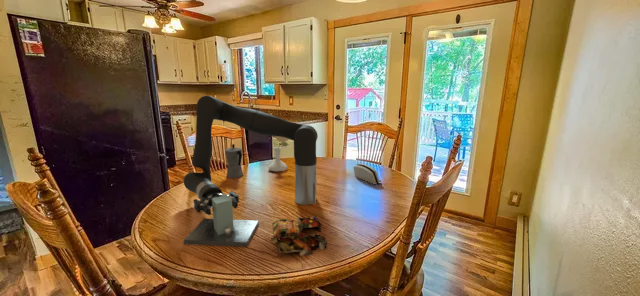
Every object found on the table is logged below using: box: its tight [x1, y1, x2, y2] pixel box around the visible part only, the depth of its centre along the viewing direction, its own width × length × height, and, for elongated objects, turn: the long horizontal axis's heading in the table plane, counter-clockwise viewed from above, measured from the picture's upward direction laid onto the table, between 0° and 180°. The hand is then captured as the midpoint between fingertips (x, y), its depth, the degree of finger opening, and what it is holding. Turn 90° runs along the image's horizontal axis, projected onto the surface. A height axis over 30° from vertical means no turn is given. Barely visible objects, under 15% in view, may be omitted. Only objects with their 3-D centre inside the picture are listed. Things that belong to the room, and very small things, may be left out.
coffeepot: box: [224, 143, 244, 179], centre depth 146 cm, size 15×9×18 cm, turn 43°
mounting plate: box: [183, 218, 260, 248], centre depth 90 cm, size 20×14×4 cm
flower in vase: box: [268, 136, 289, 172], centre depth 157 cm, size 13×11×25 cm
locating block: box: [211, 194, 234, 235], centre depth 89 cm, size 5×5×11 cm
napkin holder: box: [353, 163, 382, 185], centre depth 145 cm, size 17×5×10 cm, turn 32°
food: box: [270, 215, 328, 256], centre depth 89 cm, size 22×19×4 cm
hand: (223, 208), depth 87 cm, fingers open, 8 cm apart
